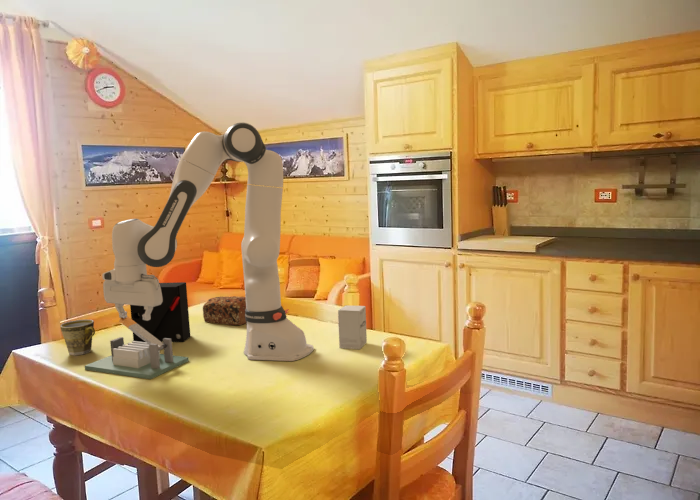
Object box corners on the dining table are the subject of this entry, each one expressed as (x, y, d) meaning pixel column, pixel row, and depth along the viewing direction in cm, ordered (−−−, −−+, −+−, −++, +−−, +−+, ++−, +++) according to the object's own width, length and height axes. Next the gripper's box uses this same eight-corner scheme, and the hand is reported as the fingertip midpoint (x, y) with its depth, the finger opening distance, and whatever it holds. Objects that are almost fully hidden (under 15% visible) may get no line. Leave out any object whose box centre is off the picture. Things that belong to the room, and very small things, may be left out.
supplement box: (360, 349, 170) (359, 311, 169) (338, 348, 173) (337, 310, 171) (367, 342, 177) (366, 305, 176) (346, 341, 180) (344, 304, 178)
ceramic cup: (56, 355, 178) (53, 325, 176) (83, 346, 186) (80, 318, 185) (83, 359, 172) (80, 329, 171) (109, 350, 181) (106, 321, 179)
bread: (256, 320, 213) (254, 295, 212) (238, 327, 204) (236, 301, 202) (220, 316, 222) (219, 292, 221) (202, 322, 213) (200, 298, 212)
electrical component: (192, 335, 195) (188, 281, 192) (181, 343, 185) (176, 286, 182) (146, 335, 197) (141, 282, 194) (132, 344, 187) (127, 287, 184)
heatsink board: (188, 361, 166) (186, 334, 165) (150, 379, 152) (147, 350, 151) (126, 353, 177) (123, 328, 176) (84, 369, 162) (82, 342, 161)
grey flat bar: (166, 348, 161) (167, 345, 161) (157, 352, 158) (158, 348, 157) (127, 318, 166) (128, 315, 165) (118, 321, 162) (119, 318, 162)
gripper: (165, 273, 159) (169, 318, 161) (114, 270, 167) (118, 314, 169) (149, 277, 153) (153, 324, 155) (97, 274, 161) (102, 318, 163)
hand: (134, 318), depth 162 cm, fingers open, 8 cm apart
